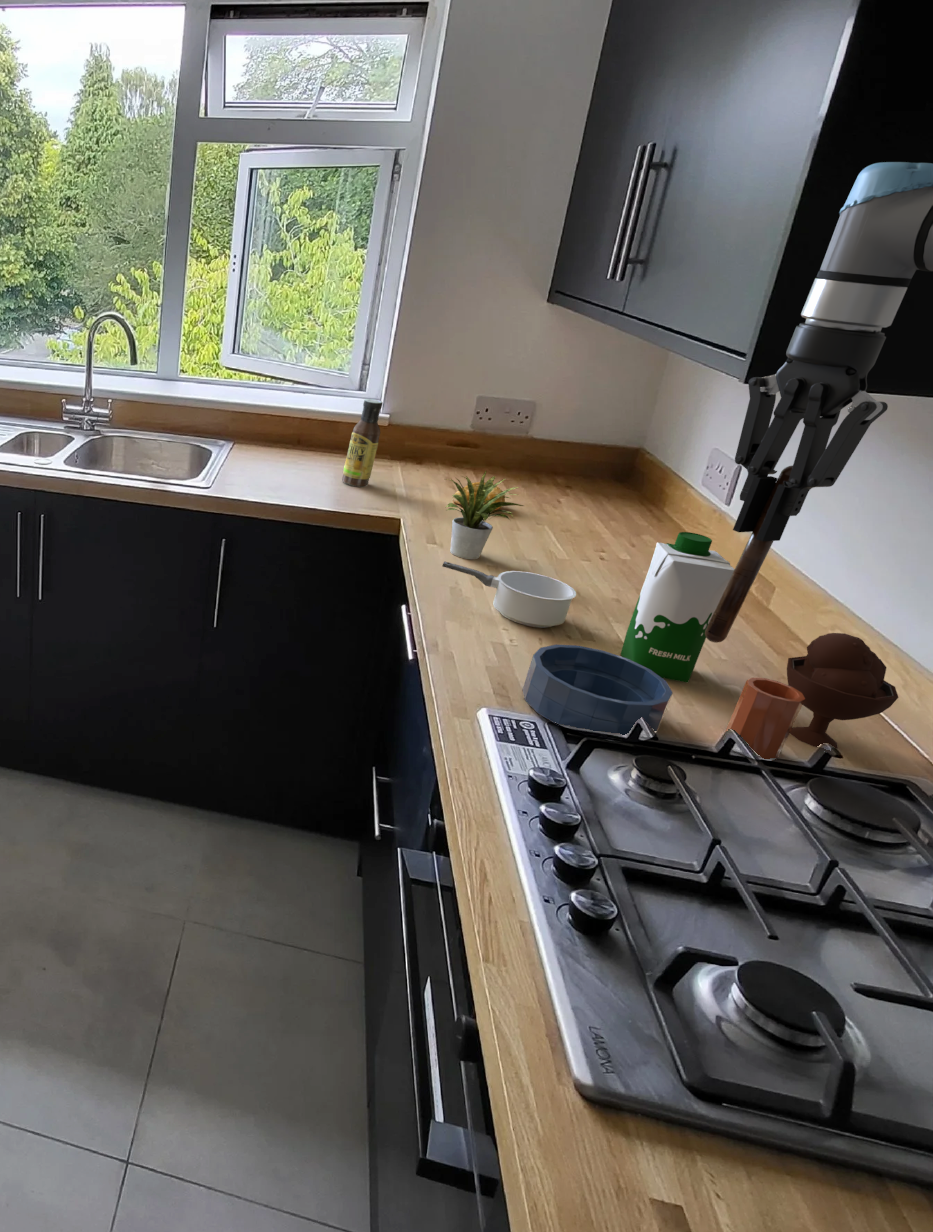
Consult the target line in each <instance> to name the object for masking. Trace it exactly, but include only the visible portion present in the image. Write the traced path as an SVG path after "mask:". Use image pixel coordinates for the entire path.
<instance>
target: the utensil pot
mask: <svg viewBox="0 0 933 1232" xmlns="http://www.w3.org/2000/svg"><path fill="white" fill-rule="evenodd" d="M804 701H805V697H804V695H803V694H802V693H801V692H800V691H798V690H796V689H795V688H793V687H791V686H789V685H788V684H787V683H784V682H781V681H779V680H774V679H771V678H766V677H750V678H748V679H746V681H745V683H744V685H743V688H742V690H741V692H740V695H739V698H738V700H737V703H736V705H735V707H734V709H733V711H732V714H731V717H730V719H729V721H728V724H727V726H726V728H725V730H724V733H725V732H726V731H728V729H733V730H735V731H736V732H737V733H738V734H739V735H741V737H743V739H744V740H745V741H746V742H747V743H748V744H749V746H750V747H751V748H752V749H753V750H754V751H755V752H756V753H757V754H758V755H760V756H761V757H762V758H764V759H770V758H778V759H779V757H780V756H781V753H782V751H783V748H784V746H785V745H786V742H787V740H788V738H789V735H790V734H789V733H790V731H791V729H792V728H793V727H794V725H795V723H796V720H797V718H798V716H799V714H800V712H801V709H802V707H803V706H804V705H803V703H804Z"/></svg>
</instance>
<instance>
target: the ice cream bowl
mask: <svg viewBox="0 0 933 1232" xmlns="http://www.w3.org/2000/svg"><path fill="white" fill-rule="evenodd" d="M806 652H807V654H806V655H802V656H795V657H794V656H793V657H788V659H787V665H786V678H787V685H789V686H791V687H793V688H795V689H796V690H798V691H800V692H801V693H802V694H803V695H804V697H805V701H804V703H803V705H802V706H803V707H805V708H806V709H808V710H809V711H811V712H812V716H813V717H812V719H811V720H810V722H809V724H808V726H793V727H792V729H791V731H790V733H789V735H790V736H792V737H794V739H796V740H797V741H799V742H801V743H804V744H806V745H809V746H811V747H813V748H818V747H817V746H819V745H820V744H823V743H829V744H831V745H832V746H834V747H835V749H838V748H839V746H838V742H837V741H836V740H835V739H834V738H832V736H830V734H828V733H827V730H828V728H829V725H830V723H832V722H833V721H834V720H839V721H850V720H851V721H852V720H858V719H864V718H868V717H871V716H876V715H880V714H881V713H883V712H885V711H887V710H888V709H889V708H891V707H892V706H893V705H894V704H895V702H896V701H898V699H899V695H898V692H897V688H896V686H895V685H893V684H891V683H889V682H888V681H886V680H885V677H886V671H887V666H886V665H885V663H884V662H883V661H882V659H881V658H879V656H878V655H877V653H875V652H874V651H872V650H871V647H870V646H869V645H867V644H866V642H865V640H863V639H861V638H860V637H857V636H854V635H852V634H849V633H843V632H829V633H825V634H823V635H819V636H818V637H816V638H814V639H812V640H811V642H810V643H809V644H808V645H807V646H806ZM835 749H834V750H835Z"/></svg>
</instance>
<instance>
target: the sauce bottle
mask: <svg viewBox="0 0 933 1232" xmlns="http://www.w3.org/2000/svg"><path fill="white" fill-rule="evenodd" d="M362 406H363V408H362V412H361V416H360V420H359V421H358V422H357V423H356V424H355V425H354V427H353V430H352V432H351V436H350V441H349V444H348V449H347V453H346V456H345V457H346V458H345V462H344V466H343V469H342V470H343V471H342V478H341V480H342V482H343V483H345V484H346V485H348V486H352V487H357V488H364V487H366V486H368V485H369V481H370V479H371V475H372V471H373V466H374V463H375V460H376V459H375V458H376V455H377V452H378V451H377V450H378V446H379V440H380V437H381V428H380V425H379V422H378V421H379V416H380V412H381V410H382V407H383V401H382V400H379V399H374V398H366V399H364V401H363V405H362Z"/></svg>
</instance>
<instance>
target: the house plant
mask: <svg viewBox="0 0 933 1232" xmlns="http://www.w3.org/2000/svg"><path fill="white" fill-rule="evenodd" d="M486 475H487V470H484V473H483V474H482V476H481V478H480V481H479V482H480V484H479V487H478V490H477V494H476V499H475V504H474V488H473V485H472V483H473V482H472V480H471V479H470V478H469V477H468V476H467V475H465V476H463V475H461V477H462V478H464V479H465V480H466V482H467V485H466V486H468V489H469V506H468V501H467V496H466V492H465V490H464V488H463V487H464V486H463V484H462V483H461V480H460V479H458V478H457V477H455V479H456V481H458V482H456V481H454V480H453V479H447V478H445V480H447V481H449V482H453V484H454V485H455V487H456V488H457V491H458V490H459V492H460V493H461V495H462V496H460V495H457V494H456V495H454V494H452V495H451V496H452V497H454V498H456V499H457V500H458V501H459V502H460V503H461V505H460V506H461V507H462V508H461V507H459V506H458V504H456V503H454V502H449V503H448V504H447V505H446V506H445V508H447V509H446V511H458V512H460V513H461V515H462V517H455V518H453V519H452V526H451V538H450V548H449V549H450V550H449V551H450V553H451V554H452V555H453V556H455V557H458V558H462V559H465V560H477V559H479V558H480V556H481V554H482V553H483V550H484V548H485V545H486V543H487V542H488V539H489V537H490V536H491V533H492V530H493V529H494V527H493V525H492V524H490V523H489V522H487V521H489V520H491V519H493V518H494V517H500V518H501V517H502V518H506V519H507V520H509V521H511V518H510V517H509V516H508V515H510V516H511V517H514V515H513V512H511V511H508V510H504V509H498V510H495V509H496V508H498V507H501V508H503V507H511V506H519V507H524V505H523V504H519V503H516V502H511V501H510V502H509V501H505V502H496V503H493V504H491V503H492V502H495V500H496V499H499V497H501V496H503V495H505V499H510V497H509V496H506V495H507V494H508V492H510V491H512V490H515V489H518V488H520V486H515V487H514V486H513V487H510V488H507V489H505V490H502V491H503V492H501V493H500V494H498V495H496V496H495V497H493V498H492V499H490V500H486V501H485V499H486V497H487V496H488V494H489V493H490V492H491V491H492V490H493V489H494V488H495V487H496V486H497V487H498V485H500V484H502V483H503V482H504V481H506V478H504V479H502V480H499V481H497V482H496V483H494V481H495V479H496V475H494V476H492V477H490V478H488V480H486V482H485V479H486ZM484 482H485V485H484ZM462 488H463V489H462ZM463 490H464V491H463ZM464 492H465V493H464ZM511 495H512V496H518V494H516V493H510V496H511ZM501 498H504V497H501ZM484 502H486V503H484ZM490 504H491V505H490ZM457 508H458V509H457ZM493 510H495V511H493ZM499 512H500V513H499ZM507 514H508V515H507ZM490 517H491V518H490Z"/></svg>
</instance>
